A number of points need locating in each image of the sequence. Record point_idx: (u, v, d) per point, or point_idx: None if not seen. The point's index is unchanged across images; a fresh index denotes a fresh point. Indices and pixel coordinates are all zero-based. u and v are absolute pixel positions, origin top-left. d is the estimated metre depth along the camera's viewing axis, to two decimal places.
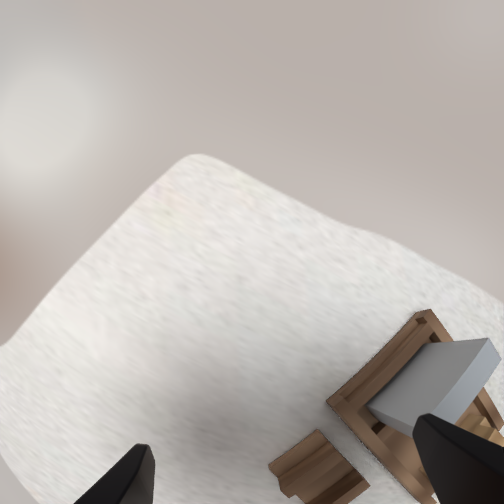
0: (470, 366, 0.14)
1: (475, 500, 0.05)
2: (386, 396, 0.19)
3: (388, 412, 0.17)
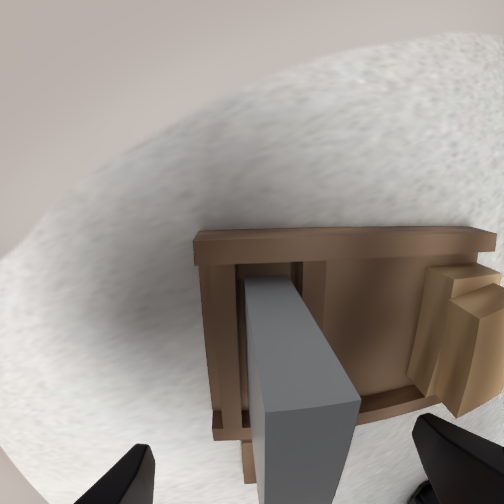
0: (270, 474, 0.06)
1: (475, 500, 0.05)
2: None
3: (254, 459, 0.11)
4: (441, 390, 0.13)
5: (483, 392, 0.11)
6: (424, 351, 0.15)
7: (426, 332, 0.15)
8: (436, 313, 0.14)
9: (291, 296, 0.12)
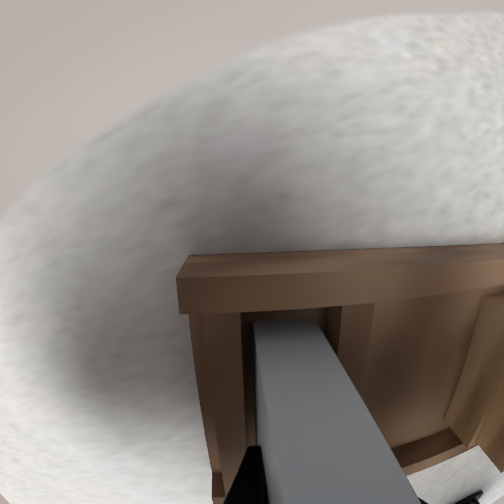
0: None
1: None
2: None
3: None
4: (486, 441, 0.09)
5: None
6: (471, 397, 0.10)
7: (475, 375, 0.10)
8: (491, 355, 0.09)
9: (327, 362, 0.07)
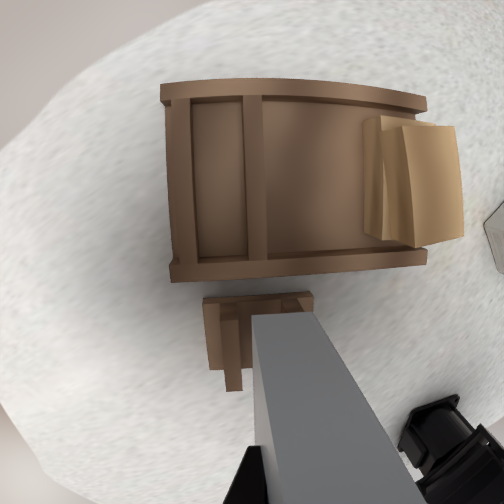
0: None
1: None
2: None
3: None
4: (395, 228, 0.16)
5: (439, 222, 0.14)
6: (373, 195, 0.17)
7: (371, 177, 0.17)
8: (374, 153, 0.16)
9: (325, 354, 0.07)
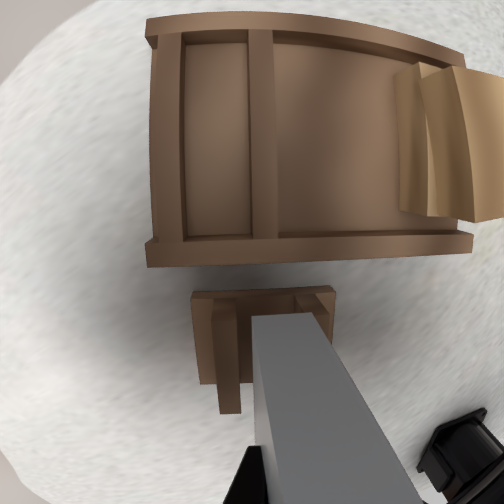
0: None
1: None
2: None
3: None
4: (445, 200, 0.11)
5: (499, 192, 0.09)
6: (412, 161, 0.12)
7: (409, 138, 0.12)
8: (413, 108, 0.12)
9: (324, 354, 0.07)
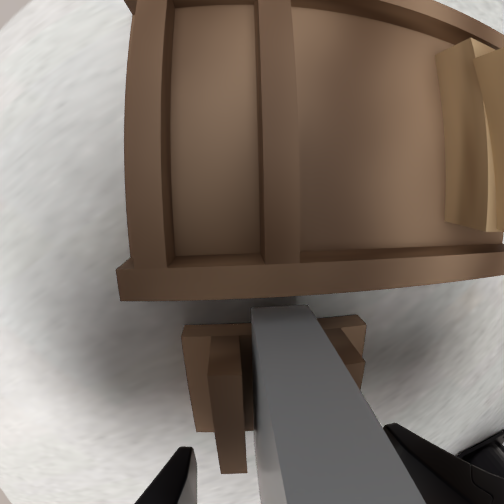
0: None
1: None
2: (258, 467, 0.10)
3: None
4: None
5: None
6: (464, 160, 0.09)
7: (459, 131, 0.09)
8: (464, 94, 0.08)
9: (318, 342, 0.08)
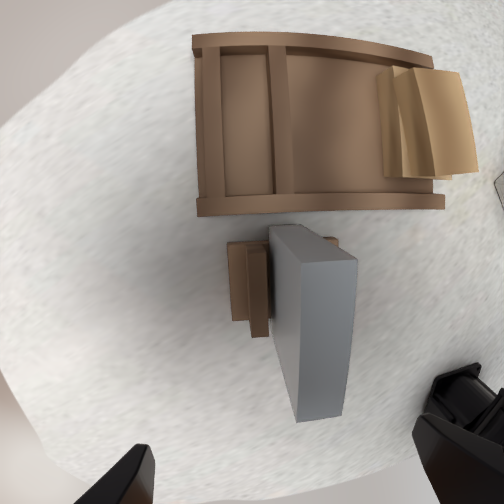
0: (304, 324, 0.11)
1: (475, 500, 0.05)
2: (276, 330, 0.18)
3: (282, 367, 0.16)
4: (415, 164, 0.15)
5: (455, 155, 0.14)
6: (390, 139, 0.17)
7: (387, 122, 0.17)
8: (389, 100, 0.16)
9: (306, 231, 0.16)
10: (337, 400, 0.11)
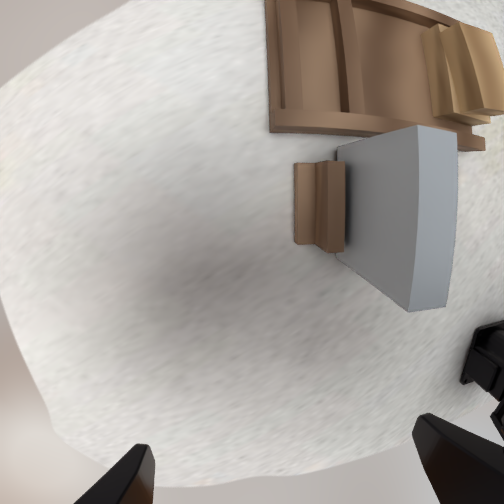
0: (422, 186, 0.10)
1: (475, 500, 0.05)
2: (351, 245, 0.17)
3: (366, 276, 0.15)
4: (463, 101, 0.15)
5: (496, 95, 0.13)
6: (438, 83, 0.16)
7: (435, 70, 0.16)
8: (436, 51, 0.15)
9: None
10: (444, 284, 0.11)
